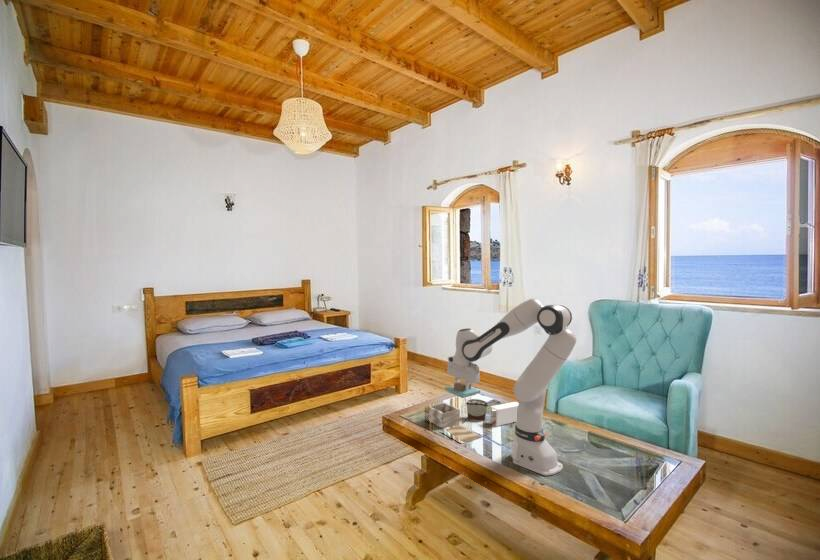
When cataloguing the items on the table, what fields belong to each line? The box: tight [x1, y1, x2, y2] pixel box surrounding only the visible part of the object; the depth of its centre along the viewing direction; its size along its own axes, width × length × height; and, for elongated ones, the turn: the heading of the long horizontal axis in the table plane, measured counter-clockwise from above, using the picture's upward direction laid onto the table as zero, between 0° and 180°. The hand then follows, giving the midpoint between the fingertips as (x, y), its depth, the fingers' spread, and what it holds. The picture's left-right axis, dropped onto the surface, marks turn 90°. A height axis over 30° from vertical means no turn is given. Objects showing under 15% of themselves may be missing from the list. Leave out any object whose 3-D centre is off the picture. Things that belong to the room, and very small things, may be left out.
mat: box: [445, 425, 482, 443], centre depth 202 cm, size 16×14×1 cm
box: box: [427, 402, 461, 429], centre depth 217 cm, size 12×12×8 cm
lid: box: [444, 380, 481, 399], centre depth 201 cm, size 13×13×5 cm
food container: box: [465, 398, 489, 422], centre depth 225 cm, size 12×6×10 cm, turn 84°
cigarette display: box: [489, 401, 519, 427], centre depth 221 cm, size 20×6×9 cm, turn 119°
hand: (462, 387), depth 201 cm, fingers closed on lid, 4 cm apart
